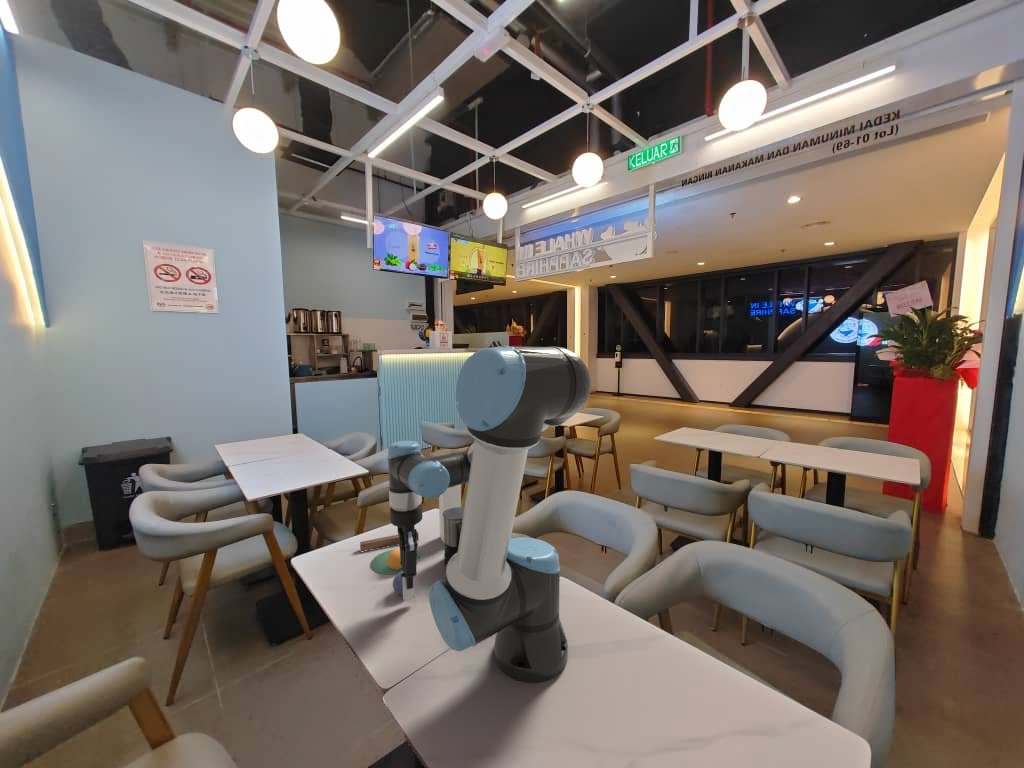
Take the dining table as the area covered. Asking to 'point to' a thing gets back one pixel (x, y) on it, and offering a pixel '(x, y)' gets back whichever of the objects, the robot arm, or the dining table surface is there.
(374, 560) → the green mark
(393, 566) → the orange ball
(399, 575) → the navy ball
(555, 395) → the robot arm
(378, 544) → the walnut stopper
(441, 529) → the milk
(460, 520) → the milk frother
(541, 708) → the dining table surface
